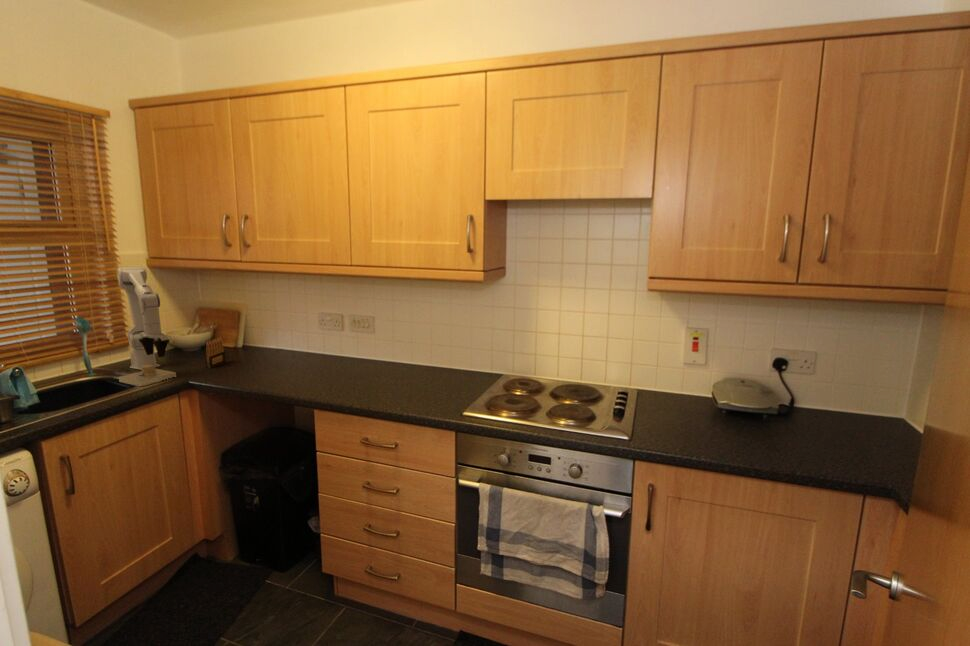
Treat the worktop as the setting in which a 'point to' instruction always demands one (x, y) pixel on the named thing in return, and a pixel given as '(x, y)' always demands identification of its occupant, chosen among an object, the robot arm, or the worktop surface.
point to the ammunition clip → (215, 353)
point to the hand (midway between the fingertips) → (155, 355)
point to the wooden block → (148, 370)
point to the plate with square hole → (142, 381)
